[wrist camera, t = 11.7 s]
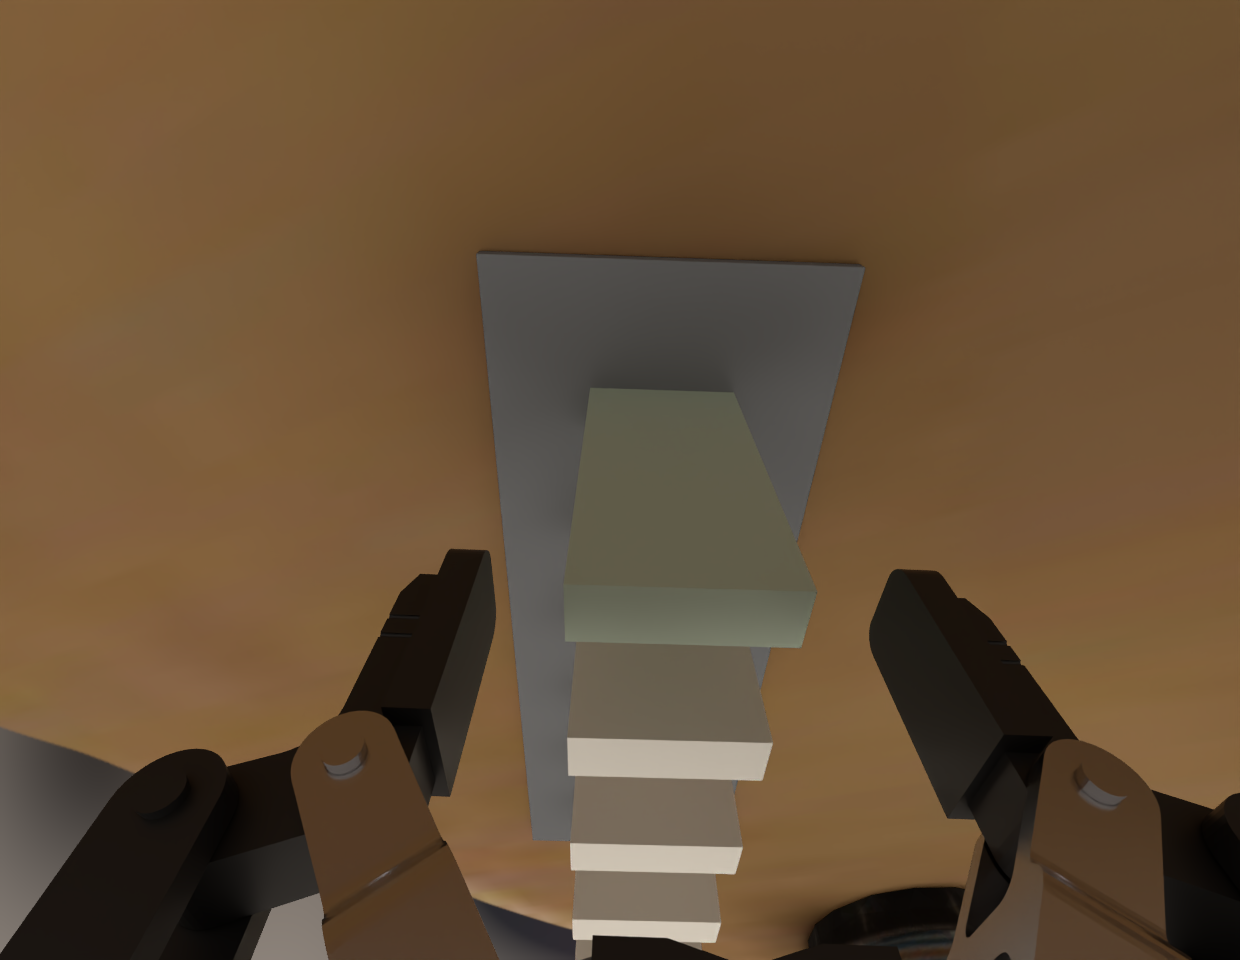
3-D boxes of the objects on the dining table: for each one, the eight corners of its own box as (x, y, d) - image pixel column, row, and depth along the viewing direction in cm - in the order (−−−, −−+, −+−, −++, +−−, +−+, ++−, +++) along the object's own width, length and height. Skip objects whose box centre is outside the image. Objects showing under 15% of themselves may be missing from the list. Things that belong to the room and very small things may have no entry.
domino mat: (479, 251, 18) (476, 253, 17) (859, 264, 18) (865, 267, 17) (534, 831, 36) (533, 840, 36) (720, 836, 36) (721, 844, 36)
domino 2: (589, 505, 22) (567, 737, 14) (716, 509, 22) (773, 743, 14) (589, 537, 23) (568, 775, 14) (711, 541, 23) (762, 780, 15)
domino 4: (588, 675, 27) (572, 919, 19) (691, 677, 27) (721, 922, 19) (588, 696, 28) (573, 939, 20) (688, 699, 28) (715, 942, 20)
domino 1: (590, 387, 20) (563, 584, 11) (733, 392, 20) (816, 591, 11) (589, 429, 20) (565, 641, 12) (727, 433, 20) (800, 648, 12)
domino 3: (589, 599, 25) (570, 843, 16) (702, 602, 25) (742, 847, 16) (589, 625, 26) (570, 870, 17) (698, 628, 26) (735, 874, 17)
